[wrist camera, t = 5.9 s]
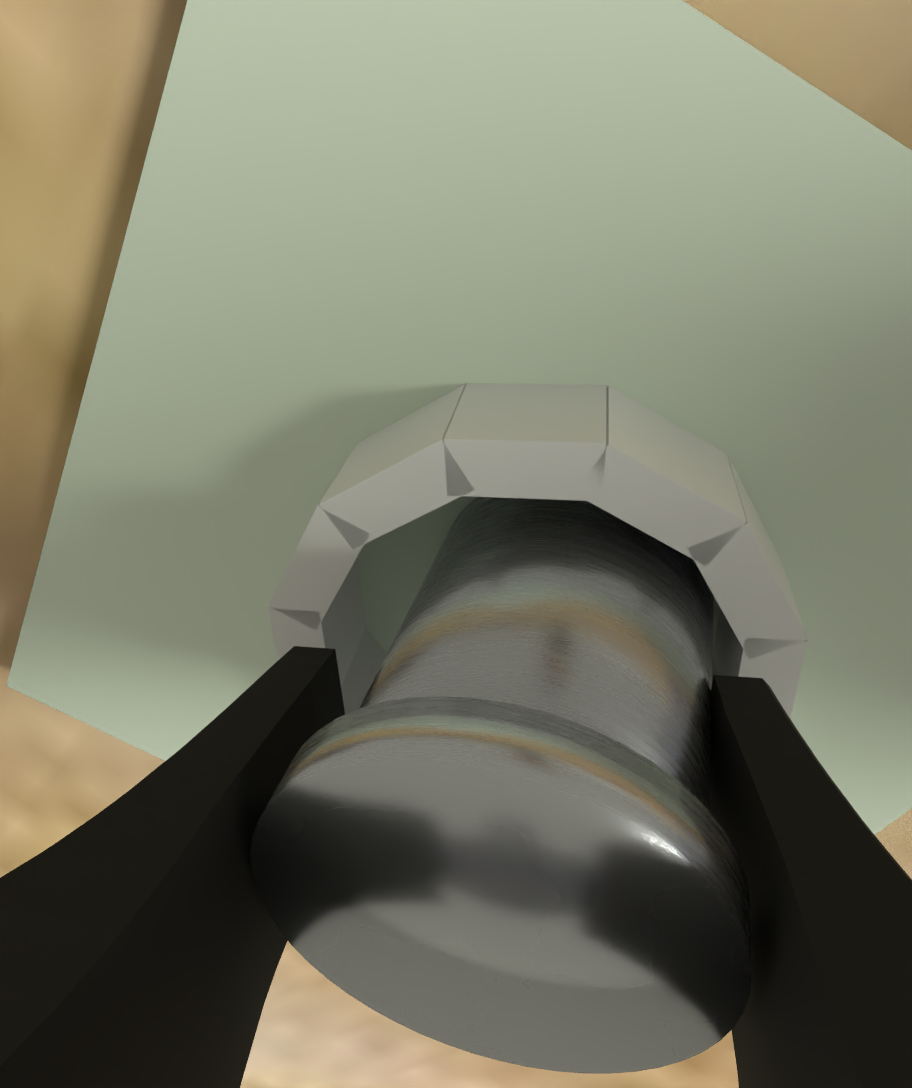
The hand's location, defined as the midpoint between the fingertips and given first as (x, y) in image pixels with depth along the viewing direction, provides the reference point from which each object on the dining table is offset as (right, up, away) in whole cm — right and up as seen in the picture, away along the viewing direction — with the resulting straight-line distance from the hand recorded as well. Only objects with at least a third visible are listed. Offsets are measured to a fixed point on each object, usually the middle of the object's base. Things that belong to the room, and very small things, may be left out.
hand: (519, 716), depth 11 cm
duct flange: (+1, +2, +3) cm, 3 cm away
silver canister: (+1, +2, +2) cm, 3 cm away
